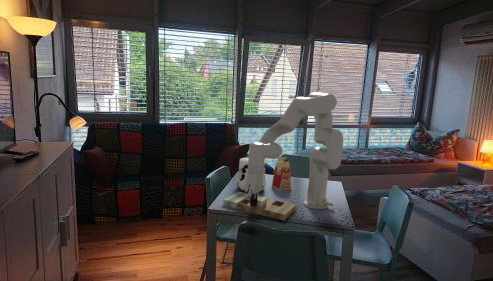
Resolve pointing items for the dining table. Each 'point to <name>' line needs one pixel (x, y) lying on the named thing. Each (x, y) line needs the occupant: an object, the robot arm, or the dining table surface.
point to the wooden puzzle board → (271, 209)
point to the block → (261, 202)
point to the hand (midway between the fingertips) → (253, 205)
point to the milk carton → (282, 174)
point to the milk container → (243, 174)
